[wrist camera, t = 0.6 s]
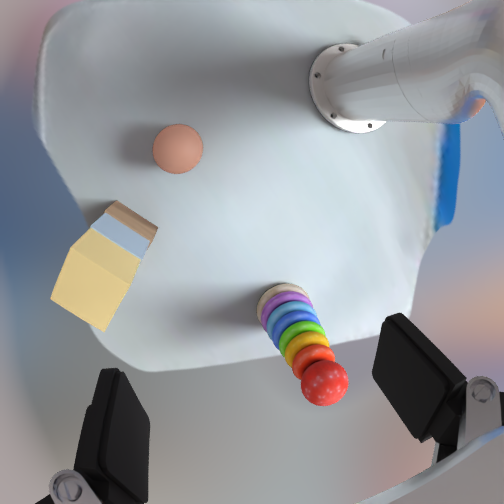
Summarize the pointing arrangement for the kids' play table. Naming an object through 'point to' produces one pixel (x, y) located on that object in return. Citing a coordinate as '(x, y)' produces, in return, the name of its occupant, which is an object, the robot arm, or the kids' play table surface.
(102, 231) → the tower mid
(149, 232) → the tower base
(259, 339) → the kids' play table surface
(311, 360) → the stacking toy
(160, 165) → the cylinder
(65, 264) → the tower top
